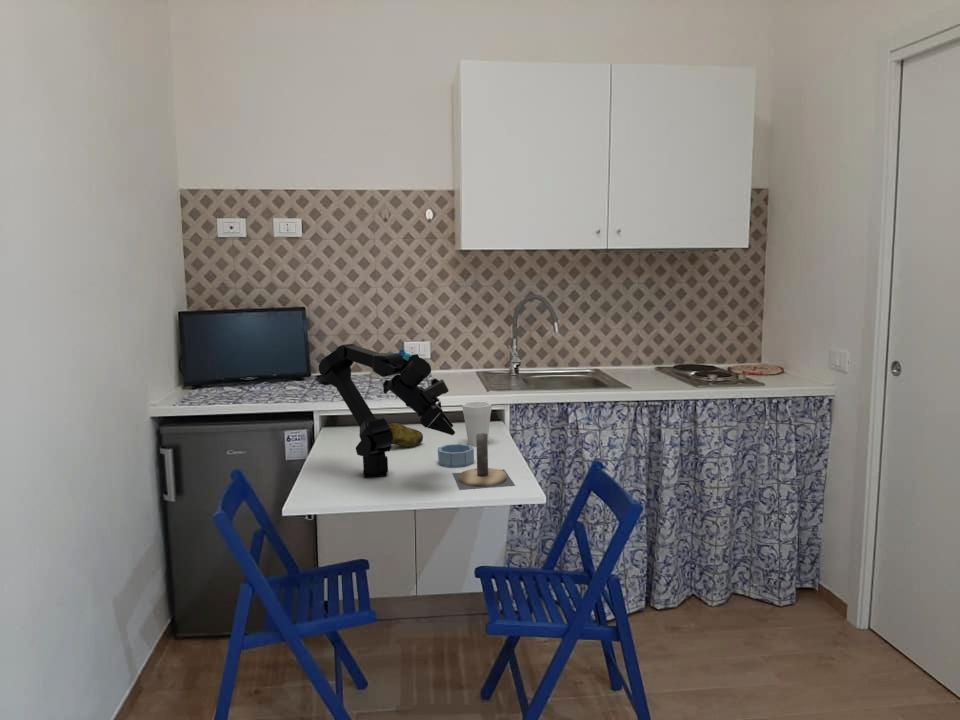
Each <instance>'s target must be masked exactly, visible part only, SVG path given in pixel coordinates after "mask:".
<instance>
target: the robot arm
mask: <svg viewBox="0 0 960 720" xmlns="http://www.w3.org/2000/svg"><path fill="white" fill-rule="evenodd" d="M427 361H428V360H427ZM427 361H426V360H425V359H424V358H421V357H420V356H419V354H418V353H416V354H411V355H410V357H409V358H408V359H406V358H404V356H403V355H402V354H401V353H398V352H397V353H396V352H384V353H383V352H378V351H375V350H371V349H368V348H364V347H361V346H358V345H356V344H354V343H346V344H341V345H339V346H337V348H336V349H334V351H332V352H330V353H329V354H328V355H326V356H324V358H323V359H321V360H320V363H319V364H318V372H319V374H320V376H321V377H322V378H323V379H324V381H325V382H326V383H328V384H330V385H331V386H333V387H335V388H336V390H337V391H338V393H339V395H340V396H341V399H342V400H343V401H344V403H345V405H346V406H347V408H348V409H349V411H350V413H351V414H352V416H353V418H354V419H355V421H356V423H357V424H358V426H359V439H360V441H359V442H358V444H357V445H356V447H355V452H356V455H357V456H360V457H362V463H363V465H362V466H363V467H362V468H363V470H362V473H363V474H362V475H363V478H376V477H378V478H379V477H387V476H388V474H387V473H388V472H389V460H388V459H389V458H388V456H387V455H386V452H390V451H391V449H392V445H393V444H392V441H393V434H392V432H391V428H390V427H389V426H388V425H389V423H388V421H387V420H386V419H385V418H384V417H382V418H377V417H376V416H375V415H374V413H373V411H371V409H370V407H369V406H368V403H367V402H366V401H365V399H364V398H363V396H362V395H361V392H360V391H359V389H358V388H357V387H356V386H357V385H356V384H355V383H354V381H353V380H352V368H351V367H352V366H353V365H354V363H357V364H360V365H362V366H366V367H369V368H371V370H372V371H373V373H375V374H377V375H378V376H380V377H382V378H386V377H390V376H393V377H392V378H391V379H386V380H385V381H384V382H383V384H382V386H383V393H384V394H385V395H386V394H387V393H388V392H389V391H390V392H391V393H393V394H394V395H395V396H396V397H397V398H399V399H400V401H402V402H403V403H404V404H405V406H406V407H407V408H410V409H411V410H412V411H414V412H415V413H416V415H417V416H418V418H419V419H420V420H419V421H420V425H422V426H423V427H424V428H425V429H426V428H427V429H431V430H434V431H438V432H441V433H444V434H447V435H450V436H454V435H455V434H456V431H455V430H454V429H453V427H454V424H453V423H452V421H451V420H450V419H449V417H448V416H447V415H446V413H444V411H443V409H442V403H441V402H442V401H440V399H439V397H440V396H441V395H445V394H447V393H448V392H450V391H449V388H448V386H447V384H446V382H445V381H444V379H440V380H439V379H437V378H433V379H431V380H430V385H429V386H427V387H425V388H424V387H422V386H419V385H420V384H421V383H422V382H423V381H424V380H425V379H426V378H427V377H428V376H429V375H431V373H432V367H431V364H430V363H429V362H427Z"/></svg>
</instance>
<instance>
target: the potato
mask: <svg viewBox="0 0 960 720" xmlns="http://www.w3.org/2000/svg"><path fill="white" fill-rule="evenodd" d="M388 426H389V427H390V428H391V432H392V434H393V441H392V445H395V446H398V447H401V448H412V447H416V446H418V445H419V444H421V443H422V442H423V440H424V435H423V432H421V431H419V430H418V429H415V428H412V427H408V426H406V425H404V424H402V423H398V422H397V423H395V422H394V423H393V422H392V423H390V424H389V423H388Z"/></svg>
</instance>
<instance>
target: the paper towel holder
mask: <svg viewBox="0 0 960 720" xmlns="http://www.w3.org/2000/svg"><path fill="white" fill-rule="evenodd" d="M476 445H477V446H476V468H471V469H467V470H463V471H461V472H459V473H460V474H459V481H460V482H461V483H462V484H465V485H468V486H475V487H487V486H495V485H499V484H502V483H504V482H505V481H506V479H507V477H506V473H507V472H506V473H505V472H504V471H502V470H503V469H497V468H491V467H489V453H488V452H489V451H488V449H489V447H488V445H489V444H488V442H487V434H484V433H481V434H477V435H476Z"/></svg>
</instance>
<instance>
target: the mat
mask: <svg viewBox="0 0 960 720" xmlns="http://www.w3.org/2000/svg"><path fill="white" fill-rule="evenodd" d="M501 470H502V471H504V472H505V473H506V477H507V479H506V481H505V482H504V483H502V484H499V485H495V486H487V487H475V486H468V485H465V484H462V483H461V482H460V481H459V474H460V473H461V472H452V473H451V475H452V476H453V478H454V481H455V483H456V486H457V487H458V490H459V491H463V490H476V489H488V488H489V489H491V488H493V489H494V488H503V487H505V488H506V487H516V484H515V483H514V482H513V480H512V478H511V477H510V476H509V473H507V471H506V470H505V469H501Z"/></svg>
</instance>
